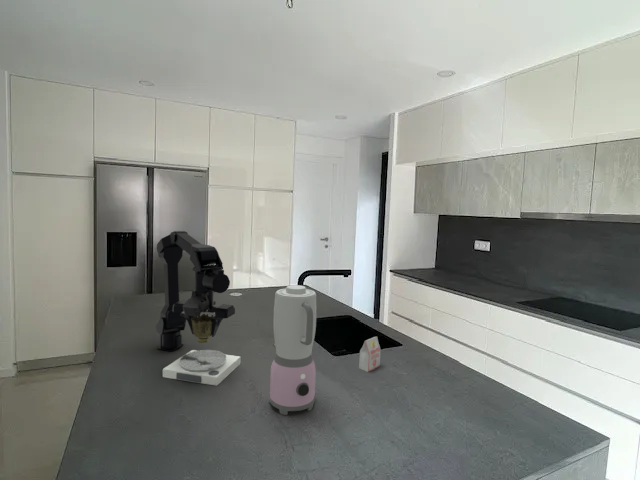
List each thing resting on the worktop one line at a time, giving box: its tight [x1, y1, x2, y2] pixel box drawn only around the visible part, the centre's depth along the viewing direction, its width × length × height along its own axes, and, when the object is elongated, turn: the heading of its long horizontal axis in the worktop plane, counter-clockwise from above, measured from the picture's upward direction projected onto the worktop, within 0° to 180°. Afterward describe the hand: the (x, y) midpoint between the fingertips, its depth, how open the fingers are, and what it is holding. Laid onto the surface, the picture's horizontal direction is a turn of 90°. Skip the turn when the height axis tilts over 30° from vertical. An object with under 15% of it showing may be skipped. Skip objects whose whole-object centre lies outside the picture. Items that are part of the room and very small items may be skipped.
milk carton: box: [358, 336, 382, 373], centre depth 125 cm, size 4×7×10 cm, turn 136°
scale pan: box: [180, 349, 227, 371], centre depth 118 cm, size 14×14×1 cm
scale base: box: [162, 349, 242, 386], centre depth 118 cm, size 18×16×3 cm
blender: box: [269, 284, 318, 416], centre depth 98 cm, size 16×12×32 cm
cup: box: [191, 313, 214, 344], centre depth 117 cm, size 8×7×8 cm
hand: (203, 335), depth 117 cm, fingers closed on cup, 6 cm apart
